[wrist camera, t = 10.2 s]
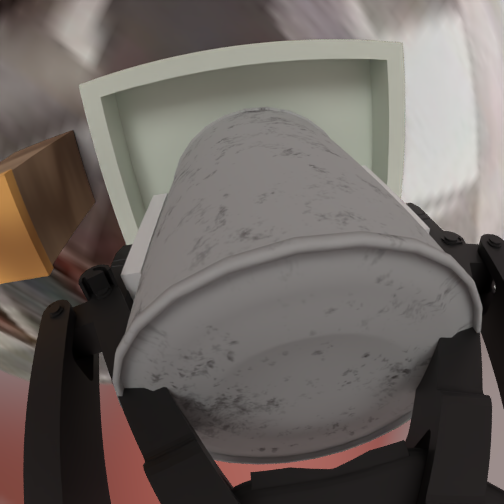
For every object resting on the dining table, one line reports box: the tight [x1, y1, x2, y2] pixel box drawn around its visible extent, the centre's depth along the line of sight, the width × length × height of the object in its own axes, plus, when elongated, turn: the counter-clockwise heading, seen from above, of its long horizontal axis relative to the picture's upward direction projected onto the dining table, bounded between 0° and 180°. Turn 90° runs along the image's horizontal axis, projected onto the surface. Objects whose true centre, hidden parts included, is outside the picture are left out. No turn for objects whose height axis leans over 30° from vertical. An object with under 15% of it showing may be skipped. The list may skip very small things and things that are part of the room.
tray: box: [79, 39, 405, 245], centre depth 18 cm, size 16×16×3 cm
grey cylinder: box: [112, 107, 482, 464], centre depth 12 cm, size 10×10×12 cm
